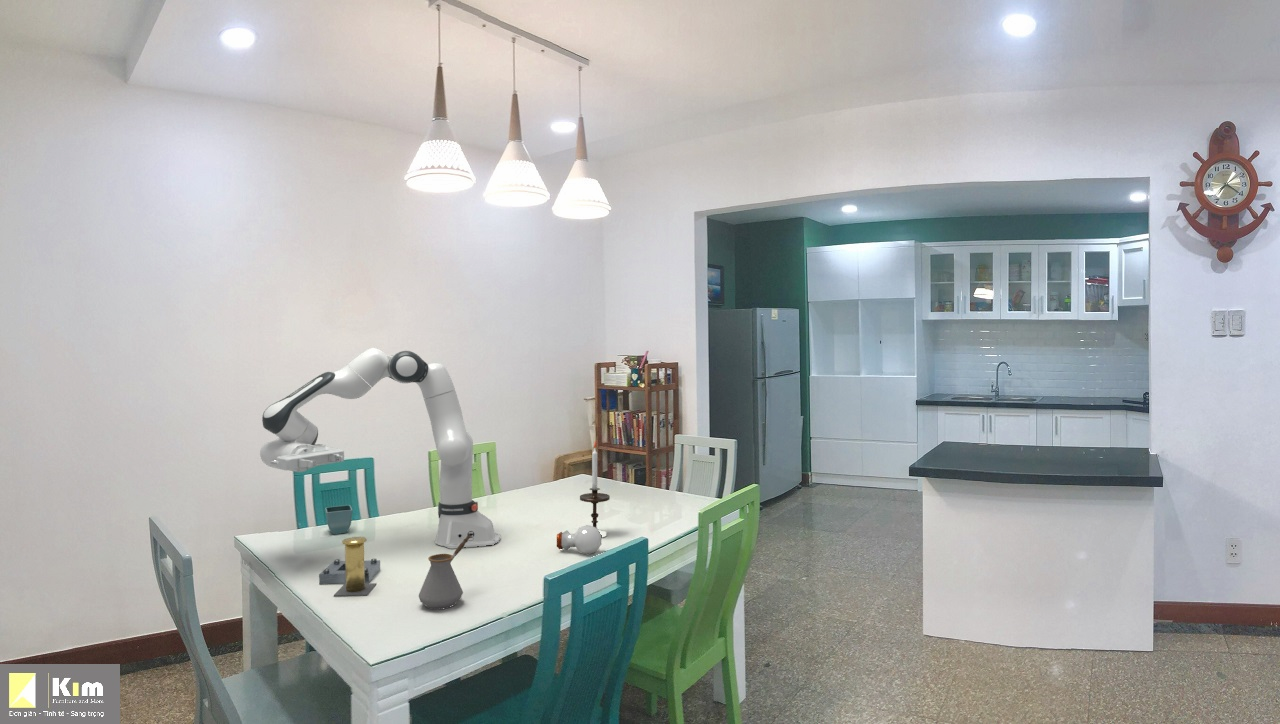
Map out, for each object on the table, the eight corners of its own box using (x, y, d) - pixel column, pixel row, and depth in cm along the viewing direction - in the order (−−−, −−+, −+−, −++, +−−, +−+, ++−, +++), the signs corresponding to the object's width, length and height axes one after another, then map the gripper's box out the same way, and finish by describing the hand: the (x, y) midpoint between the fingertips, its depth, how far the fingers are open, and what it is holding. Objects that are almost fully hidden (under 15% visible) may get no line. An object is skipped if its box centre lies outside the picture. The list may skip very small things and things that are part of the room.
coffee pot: (447, 614, 185) (447, 557, 184) (409, 609, 188) (409, 553, 187) (488, 587, 205) (488, 535, 205) (453, 583, 208) (453, 532, 208)
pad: (376, 584, 207) (376, 583, 207) (367, 595, 198) (367, 594, 198) (344, 585, 206) (344, 584, 206) (333, 596, 197) (333, 595, 197)
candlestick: (600, 529, 267) (600, 437, 266) (615, 536, 258) (615, 440, 257) (574, 534, 261) (574, 439, 260) (588, 541, 252) (589, 442, 251)
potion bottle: (602, 560, 235) (560, 561, 240) (608, 536, 243) (567, 538, 247) (593, 541, 230) (551, 543, 234) (600, 518, 238) (559, 520, 242)
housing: (380, 569, 220) (380, 557, 220) (368, 583, 208) (368, 570, 208) (333, 571, 219) (333, 558, 219) (319, 584, 207) (319, 571, 207)
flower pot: (326, 537, 257) (326, 512, 256) (325, 531, 264) (324, 507, 264) (352, 534, 261) (352, 509, 260) (350, 528, 269) (350, 504, 268)
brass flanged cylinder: (370, 584, 206) (369, 536, 205) (363, 592, 199) (362, 542, 199) (347, 585, 205) (346, 537, 205) (340, 593, 199) (338, 543, 198)
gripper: (267, 452, 215) (296, 455, 208) (327, 443, 233) (355, 447, 226) (267, 472, 215) (296, 477, 208) (327, 462, 233) (355, 466, 226)
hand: (327, 461), depth 217 cm, fingers open, 8 cm apart
